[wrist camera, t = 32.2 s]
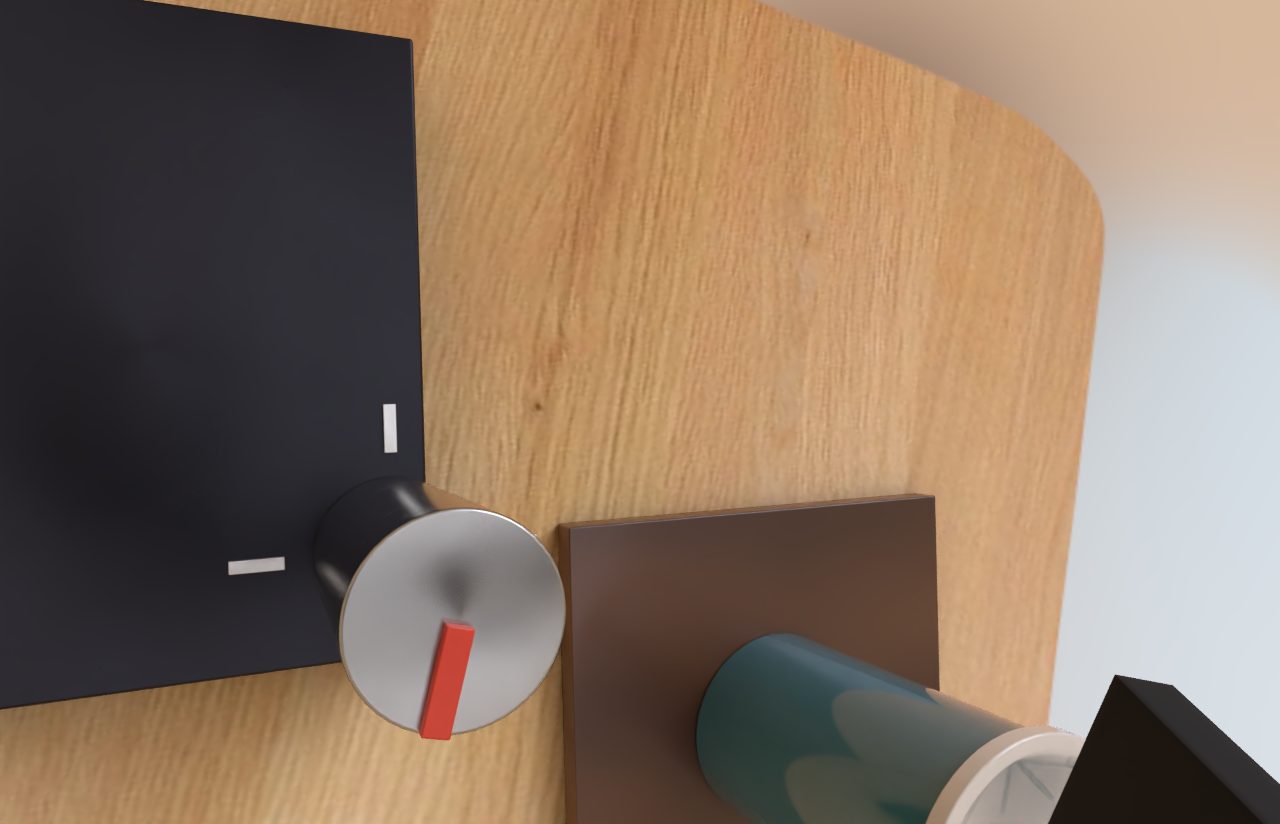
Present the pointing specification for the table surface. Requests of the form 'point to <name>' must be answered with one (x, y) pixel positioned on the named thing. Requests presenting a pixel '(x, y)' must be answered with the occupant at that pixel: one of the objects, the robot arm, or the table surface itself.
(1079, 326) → the table surface
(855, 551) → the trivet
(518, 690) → the knob
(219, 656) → the hob
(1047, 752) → the pot
